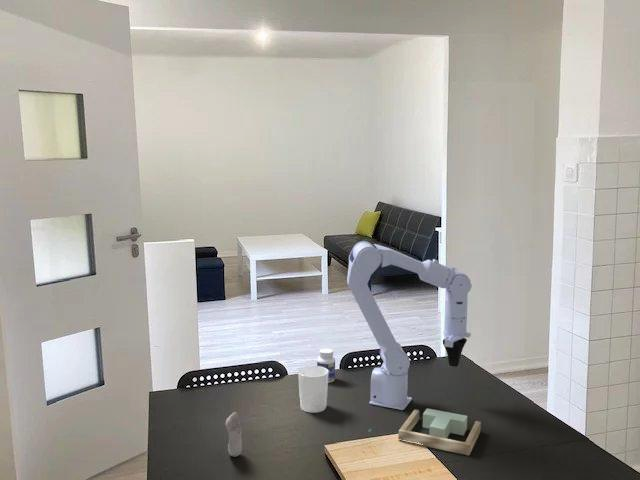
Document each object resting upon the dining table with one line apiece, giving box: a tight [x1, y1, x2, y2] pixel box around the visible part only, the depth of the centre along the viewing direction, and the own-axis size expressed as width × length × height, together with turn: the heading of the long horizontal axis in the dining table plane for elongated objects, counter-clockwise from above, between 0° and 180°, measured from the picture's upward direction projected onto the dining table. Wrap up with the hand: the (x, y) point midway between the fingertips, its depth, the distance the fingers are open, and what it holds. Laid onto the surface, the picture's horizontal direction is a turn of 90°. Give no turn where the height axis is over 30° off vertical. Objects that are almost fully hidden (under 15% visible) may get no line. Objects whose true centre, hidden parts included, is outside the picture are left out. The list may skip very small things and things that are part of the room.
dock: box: [397, 409, 482, 456], centre depth 145 cm, size 16×13×2 cm
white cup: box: [297, 365, 329, 414], centre depth 160 cm, size 8×8×10 cm
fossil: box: [225, 411, 243, 458], centre depth 136 cm, size 6×4×10 cm, turn 5°
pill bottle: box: [316, 348, 336, 384], centre depth 180 cm, size 5×5×9 cm
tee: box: [422, 408, 468, 439], centre depth 147 cm, size 10×10×4 cm
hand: (453, 365), depth 164 cm, fingers closed
